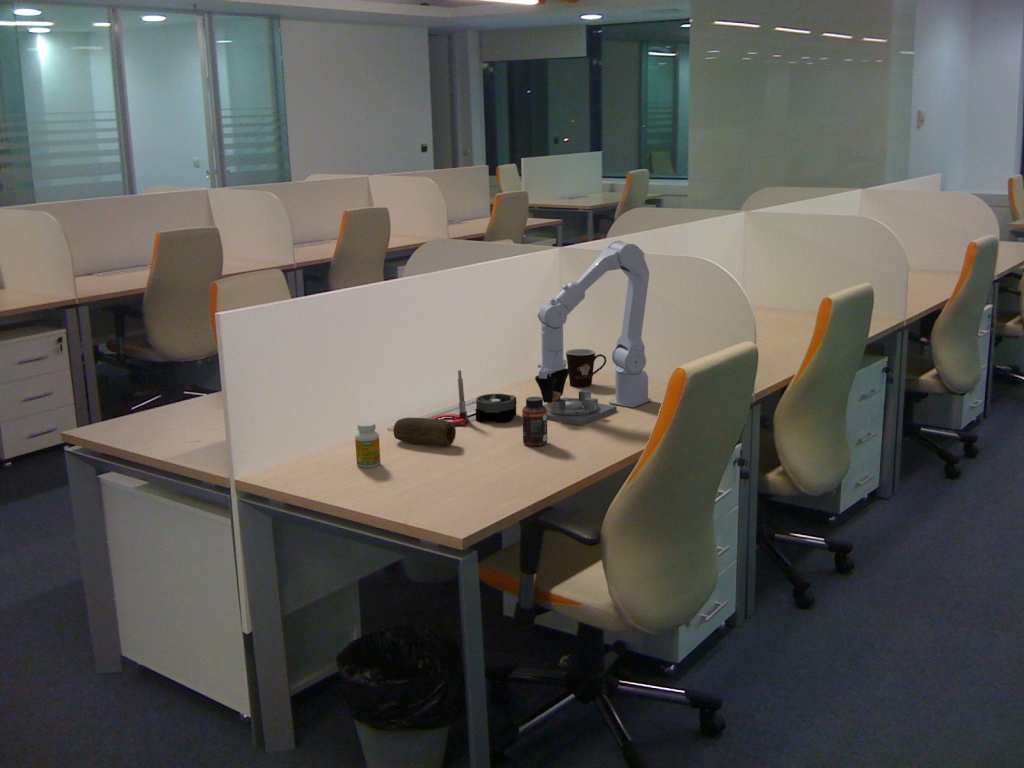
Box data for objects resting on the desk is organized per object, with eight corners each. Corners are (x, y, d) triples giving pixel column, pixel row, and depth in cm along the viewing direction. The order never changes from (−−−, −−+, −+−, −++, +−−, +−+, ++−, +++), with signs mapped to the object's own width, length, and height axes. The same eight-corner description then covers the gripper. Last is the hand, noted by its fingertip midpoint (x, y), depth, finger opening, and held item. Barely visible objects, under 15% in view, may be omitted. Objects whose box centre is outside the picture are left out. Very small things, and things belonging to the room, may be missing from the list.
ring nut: (565, 398, 275) (565, 386, 274) (611, 406, 266) (611, 393, 265) (532, 410, 263) (532, 397, 262) (579, 419, 254) (579, 406, 253)
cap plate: (564, 401, 276) (564, 391, 276) (616, 410, 266) (616, 399, 265) (527, 415, 263) (527, 404, 263) (580, 425, 253) (580, 414, 252)
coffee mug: (564, 388, 290) (564, 355, 288) (567, 381, 299) (567, 348, 296) (604, 389, 289) (604, 355, 286) (606, 382, 297) (606, 349, 294)
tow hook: (426, 429, 255) (465, 427, 254) (421, 376, 252) (460, 374, 251) (431, 419, 264) (468, 417, 263) (426, 368, 261) (464, 366, 260)
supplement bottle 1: (361, 469, 223) (358, 428, 221) (353, 463, 228) (351, 422, 226) (384, 465, 226) (381, 424, 223) (375, 459, 231) (373, 419, 228)
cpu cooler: (471, 401, 257) (481, 392, 267) (472, 423, 259) (482, 412, 268) (510, 403, 255) (519, 393, 264) (510, 424, 256) (519, 414, 266)
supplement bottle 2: (552, 444, 238) (551, 399, 236) (531, 449, 235) (530, 402, 233) (539, 438, 243) (538, 393, 241) (518, 442, 240) (517, 397, 238)
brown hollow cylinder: (459, 443, 242) (458, 416, 240) (446, 451, 235) (445, 424, 234) (404, 437, 247) (403, 411, 246) (391, 445, 241) (389, 419, 239)
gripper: (548, 342, 271) (549, 391, 274) (527, 353, 258) (528, 404, 261) (573, 344, 268) (573, 393, 271) (552, 355, 255) (553, 406, 258)
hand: (553, 398), depth 266 cm, fingers open, 7 cm apart
